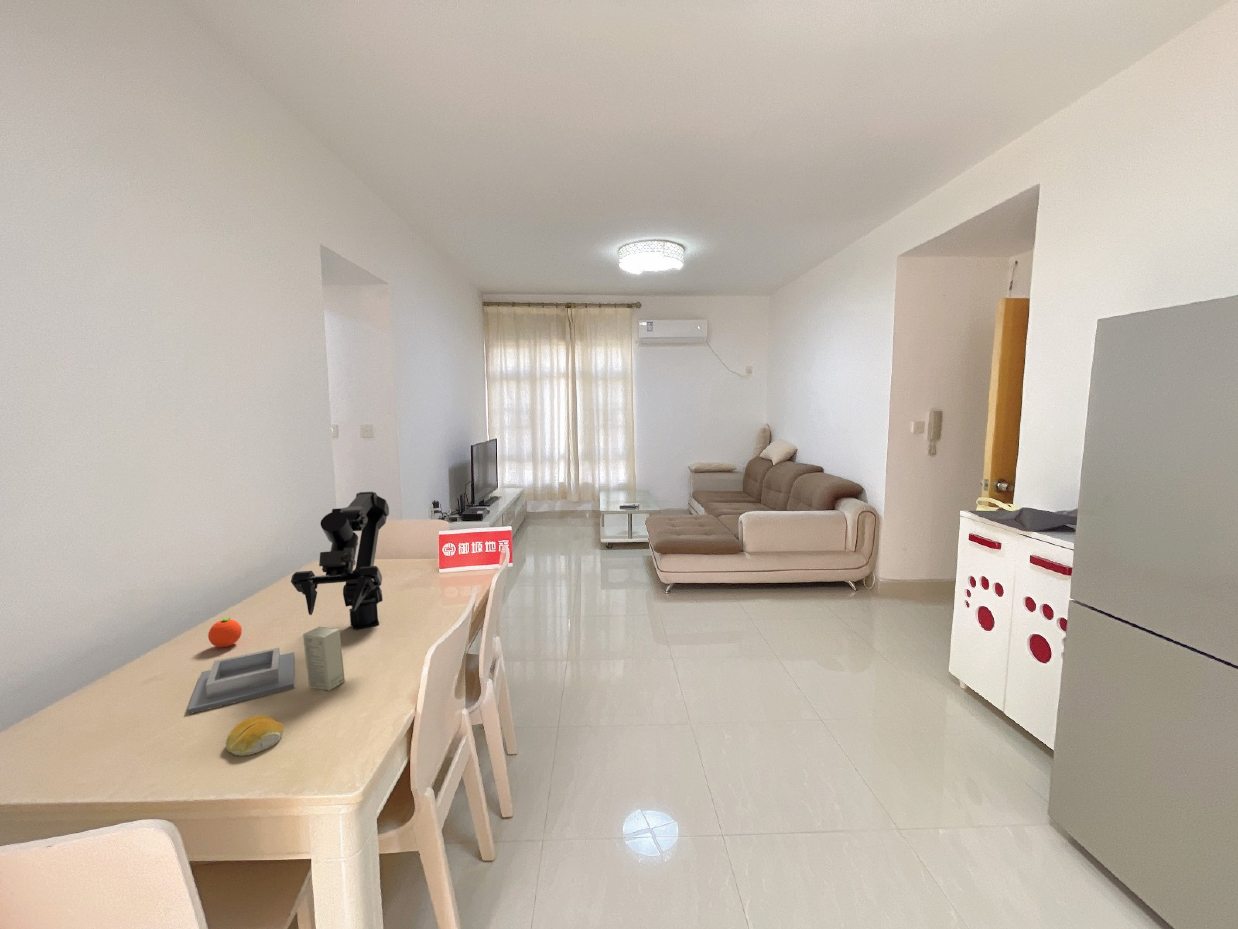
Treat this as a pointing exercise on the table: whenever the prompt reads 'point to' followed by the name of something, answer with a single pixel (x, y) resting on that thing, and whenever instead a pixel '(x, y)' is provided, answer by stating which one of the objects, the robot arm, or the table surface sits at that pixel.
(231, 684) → the port collar
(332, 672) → the skincare box
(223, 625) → the clementine
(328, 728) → the table surface
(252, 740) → the bread roll
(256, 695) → the port base
